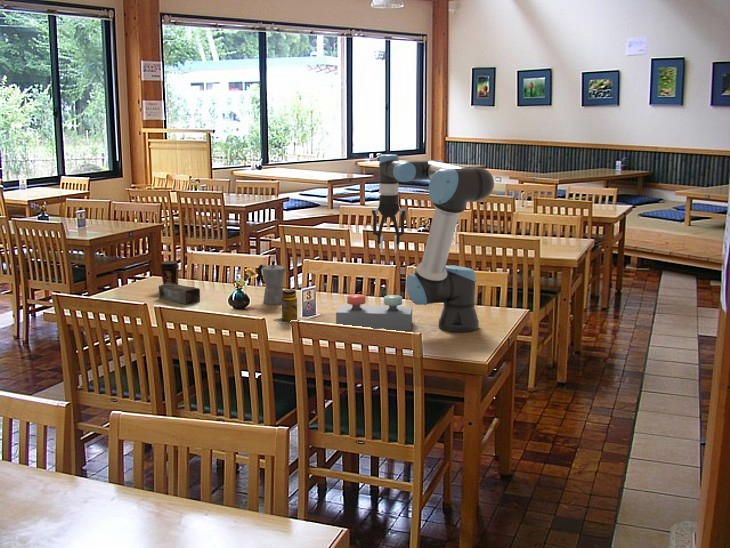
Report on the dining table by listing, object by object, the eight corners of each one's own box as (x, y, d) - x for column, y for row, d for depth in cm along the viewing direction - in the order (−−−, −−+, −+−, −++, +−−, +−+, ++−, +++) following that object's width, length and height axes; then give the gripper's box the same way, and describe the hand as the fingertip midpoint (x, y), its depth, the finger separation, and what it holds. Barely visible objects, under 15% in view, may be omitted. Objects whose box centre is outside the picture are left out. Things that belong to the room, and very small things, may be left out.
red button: (366, 314, 316) (366, 294, 315) (364, 319, 309) (364, 298, 308) (348, 314, 317) (348, 294, 315) (346, 318, 310) (346, 298, 309)
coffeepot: (293, 302, 350) (292, 260, 346) (278, 306, 342) (277, 264, 339) (266, 297, 359) (265, 257, 355) (251, 301, 351) (250, 260, 348)
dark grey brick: (173, 295, 363) (172, 281, 362) (201, 302, 351) (200, 287, 350) (158, 299, 357) (157, 284, 356) (186, 305, 345) (185, 290, 344)
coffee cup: (161, 288, 377) (160, 260, 374) (180, 287, 378) (179, 260, 376) (160, 292, 368) (159, 264, 366) (179, 291, 370) (178, 263, 367)
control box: (412, 321, 317) (412, 306, 316) (410, 329, 306) (410, 314, 305) (340, 319, 320) (340, 304, 319) (336, 327, 309) (336, 312, 308)
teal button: (402, 315, 315) (402, 295, 313) (401, 320, 308) (401, 299, 306) (384, 315, 316) (384, 294, 314) (383, 319, 309) (383, 299, 307)
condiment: (301, 320, 319) (301, 290, 317) (282, 324, 315) (281, 293, 312) (292, 317, 325) (292, 287, 323) (273, 320, 321) (272, 290, 318)
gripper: (411, 193, 326) (411, 250, 330) (367, 192, 327) (367, 250, 332) (411, 195, 318) (410, 254, 323) (365, 194, 320) (365, 253, 325)
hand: (388, 252), depth 328 cm, fingers open, 5 cm apart
